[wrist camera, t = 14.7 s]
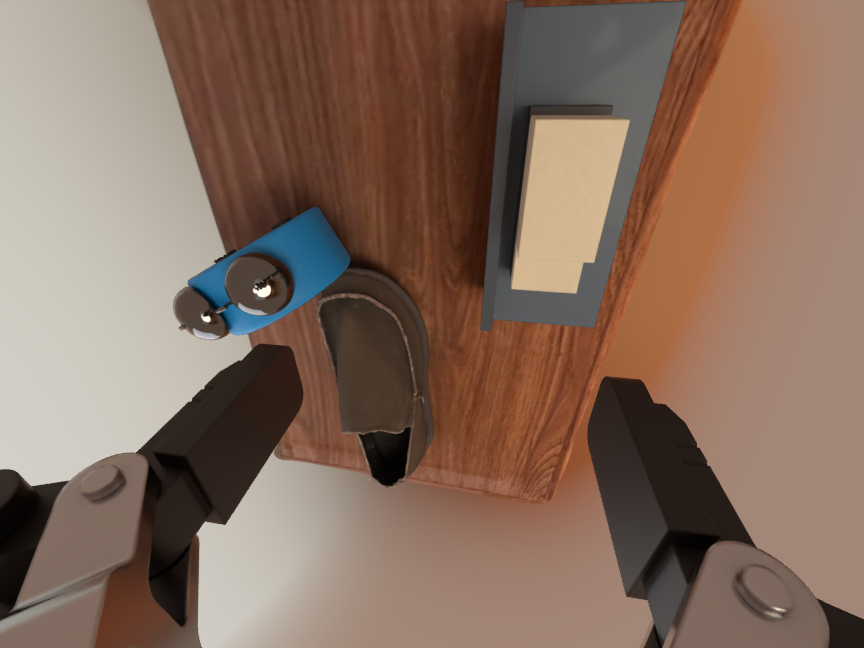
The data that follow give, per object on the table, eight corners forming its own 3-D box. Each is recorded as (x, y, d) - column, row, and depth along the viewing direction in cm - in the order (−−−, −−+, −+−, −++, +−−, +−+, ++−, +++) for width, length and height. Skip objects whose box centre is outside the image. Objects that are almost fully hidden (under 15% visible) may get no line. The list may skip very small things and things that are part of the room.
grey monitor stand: (506, 24, 27) (506, 0, 20) (651, 18, 25) (704, -9, 18) (484, 289, 38) (480, 330, 32) (582, 296, 37) (599, 341, 30)
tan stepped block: (529, 105, 24) (535, 108, 19) (608, 104, 23) (635, 107, 18) (509, 270, 30) (510, 305, 25) (570, 274, 30) (583, 311, 25)
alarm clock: (282, 287, 43) (191, 367, 30) (247, 242, 40) (132, 308, 28) (370, 244, 38) (304, 318, 25) (337, 189, 35) (246, 241, 23)
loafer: (406, 247, 37) (375, 295, 29) (458, 441, 52) (448, 512, 43) (314, 262, 40) (261, 309, 31) (388, 442, 55) (366, 508, 46)
